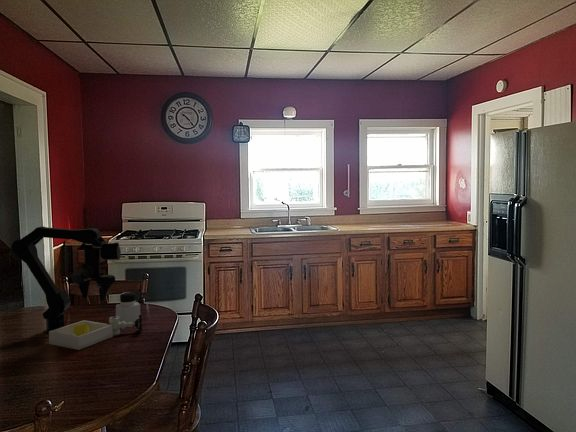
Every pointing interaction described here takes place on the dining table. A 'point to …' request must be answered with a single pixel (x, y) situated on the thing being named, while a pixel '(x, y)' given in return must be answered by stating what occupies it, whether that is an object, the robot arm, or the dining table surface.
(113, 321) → the valve
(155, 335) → the dining table surface
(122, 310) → the medicine bottle
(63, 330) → the walled box
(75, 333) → the lemon
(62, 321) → the robot arm
